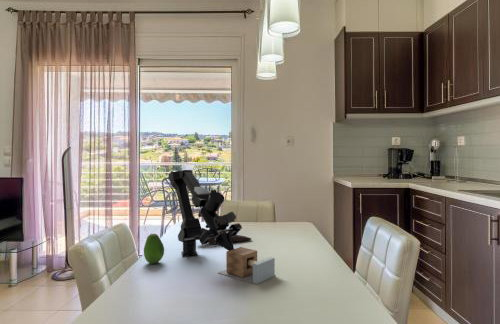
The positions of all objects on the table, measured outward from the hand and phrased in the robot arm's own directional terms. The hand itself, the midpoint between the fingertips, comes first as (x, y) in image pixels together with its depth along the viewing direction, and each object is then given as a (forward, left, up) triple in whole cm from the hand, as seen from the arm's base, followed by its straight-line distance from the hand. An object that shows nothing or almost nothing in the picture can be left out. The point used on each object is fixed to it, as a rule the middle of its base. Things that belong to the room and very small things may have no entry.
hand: (233, 251), depth 132 cm
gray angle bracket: (+5, +4, -7) cm, 10 cm away
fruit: (-18, -28, -7) cm, 34 cm away
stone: (-43, +5, -8) cm, 44 cm away
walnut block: (+3, +2, -7) cm, 8 cm away
